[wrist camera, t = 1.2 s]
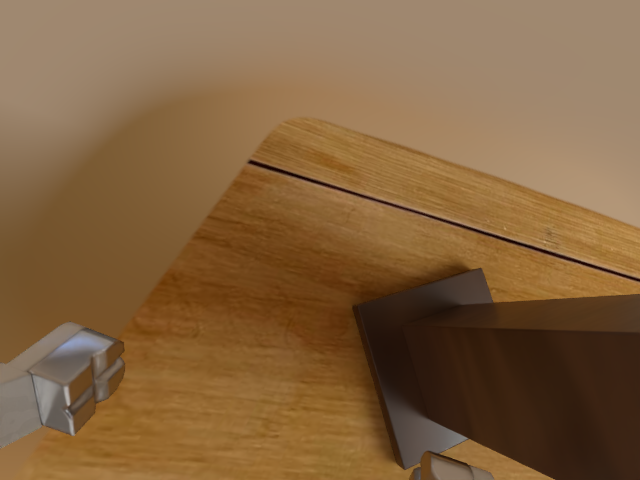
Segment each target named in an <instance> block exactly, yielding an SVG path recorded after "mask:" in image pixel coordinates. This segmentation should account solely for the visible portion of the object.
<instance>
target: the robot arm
mask: <svg viewBox="0 0 640 480" xmlns="http://www.w3.org/2000/svg"><path fill="white" fill-rule="evenodd" d="M124 351H125V350H124V342H122V341H120V340H117V339H115V338H112V337H109V336H107V335H104V334H102V333H99V332H96V331H94V330H91V329H89V328H86V327H84V326H81V325H78V324H75V323H73V322H67V323H64V324H62V325H60V326H59V327H57V328H56V329H55V330H53V331H52V332H51V333H49V334H48V335H46V336H45V337H43V338H42V339H41V340H39V341H38V342H36V343H35V344H34V345H33V346H31V347H30V348H28V349H27V350H25V351H24V352H23V353H21V354H20V355H18V356H17V357H16V358H14V359H13V360H11V361H10V362H9V363H7V364H4V363H0V448H2V447H4V446H6V445H8V444H10V443H12V442H14V441H16V440H18V439H20V438H22V437H23V436H25V435H27V434H29V433H31V432H33V431H35V430H37V429H39V428H41V427H42V425H44V426H46V427H49V428H52V429H55V430H58V431H61V432H63V433H66V434H69V435H72V436H74V435H75V434H76V433H77V432H78V431H79V430H80V429H81V428H82V427H83V425H84V424H85V423H86V422H87V421H88V420H89V419H90V418H91V417H92V416H93V415H94V414H95V409H96V404H97V403H99V402H101V401H104V400H106V399H108V398H109V397H110V396H111V395H112V394H113V393H114V392H115V391H116V389H117V388H118V386H119V384H120V382H121V381H122V379H123V376H124V372H125V363H124V361H123V360H122V358H121V357H120V355H121V354H122V353H123V352H124ZM420 462H421V467H418V468H415V469H414V470H413V472H412V474H411V475H410V477H409V480H494V478H493V476H492V474H491V473H490V472H488V471H485V470H482V469H479V468H476V467H473V466H471V465H468V464H467V463H464V462H461V461H458V460H455V459H452V458H449V457H446V456H443V455H440V454H438V453H435V452H432V451H429V450H427V451H425V452H424V453H423V455H422V456H421V458H420Z"/></svg>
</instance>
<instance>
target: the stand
mask: <svg viewBox="0 0 640 480" xmlns="http://www.w3.org/2000/svg"><path fill="white" fill-rule="evenodd" d="M353 311H354V314H355V318H356V321H357V325H358V328H359V332H360V335H361V339H362V342H363V346H364V349H365V353H366V356H367V360H368V363H369V367H370V370H371V374H372V377H373V381H374V384H375V388H376V391H377V395H378V399H379V402H380V406H381V409H382V413H383V416H384V420H385V423H386V427H387V430H388V434H389V437H390V441H391V444H392V448H393V451H394V455H395V458H396V462H397V464H398V465H399V466H400V467H401V468H403V469H404V470H406V469H408V468H410V467H412V466H414V465H416V464H418V463H421V462H420V458H421V456H422V455H423V453H424V452H425V451H427V450H429V451H432V452H435V453H438V454H439V453H441V452H443V451H445V450H447V449H449V448H451V447H453V446H455V445H458V444H460V443H462V442H464V441H466V440H468V439H471V440H473V441H475V442H477V443H479V444H481V445H483V446H485V447H488V448H490V449H492V450H494V451H496V452H498V453H500V454H502V455H504V456H506V457H509V458H511V459H513V460H515V461H517V462H519V463H521V464H523V465H525V466H528V467H530V468H532V469H534V470H536V471H538V472H540V473H542V474H544V475H547V476H549V477H551V478H553V479H555V480H640V294H632V295H616V296H599V297H582V298H566V299H549V300H532V301H515V302H499V303H493V300H492V297H491V294H490V291H489V288H488V285H487V282H486V279H485V276H484V273H483V271H482V268H478V269H473V270H469V271H466V272H463V273H459V274H456V275H453V276H449V277H446V278H443V279H439V280H436V281H433V282H430V283H426V284H423V285H420V286H416V287H413V288H410V289H406V290H403V291H400V292H397V293H393V294H390V295H387V296H383V297H380V298H377V299H373V300H370V301H367V302H363V303H360V304H357V305H354V306H353Z"/></svg>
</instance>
